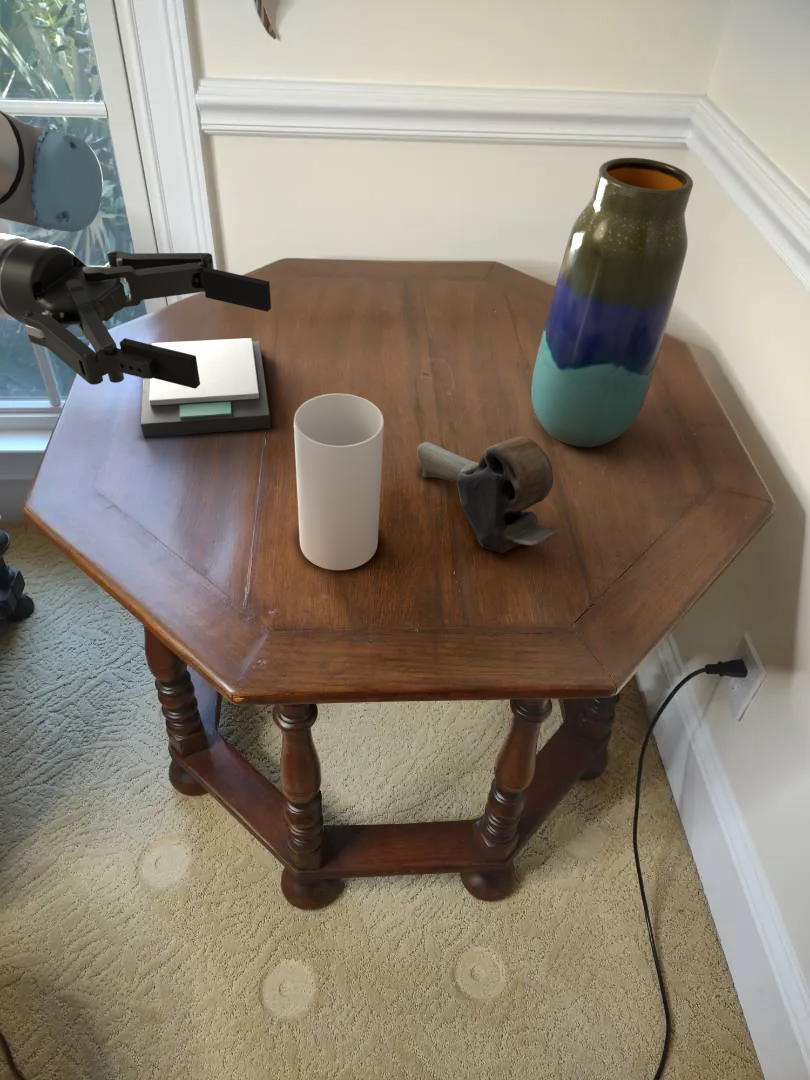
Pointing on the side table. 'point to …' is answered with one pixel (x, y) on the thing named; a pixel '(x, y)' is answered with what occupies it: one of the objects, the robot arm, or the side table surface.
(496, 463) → the grey two-tone handled device
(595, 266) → the vase
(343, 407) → the cup
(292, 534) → the side table surface
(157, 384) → the scale
